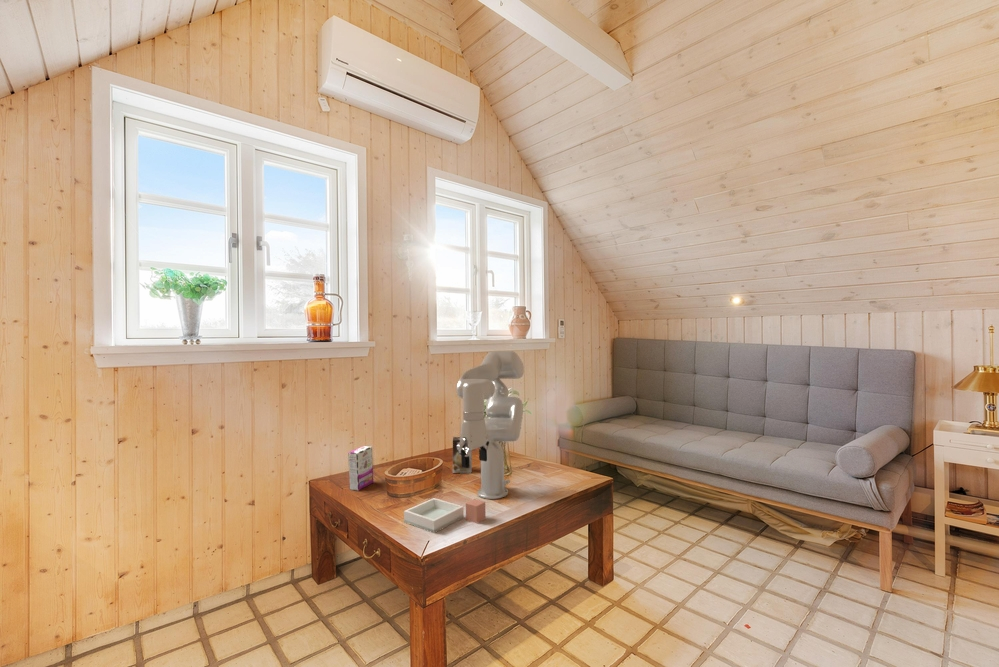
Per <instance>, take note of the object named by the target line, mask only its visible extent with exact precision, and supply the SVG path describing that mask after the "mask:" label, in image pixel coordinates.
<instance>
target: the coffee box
mask: <svg viewBox="0 0 999 667" xmlns="http://www.w3.org/2000/svg"><path fill="white" fill-rule="evenodd" d="M459 443H460V436H453V438H452V474H453V473H460V474H472V473H471V472H473V471H472V470H473V468H472V464H473V463H472V462H473V461H472V459H473V458H472V456H473V454H472V453H473V452H472V451H473V450H470V452H469V455H468V456H469V462H470V467H469V468H465V467H462V458H461V456H460V453H459V452H458V449H457V445H458V444H459ZM466 451H467V450H465V452H466Z"/></svg>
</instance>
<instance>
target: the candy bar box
mask: <svg viewBox="0 0 999 667" xmlns="http://www.w3.org/2000/svg"><path fill="white" fill-rule="evenodd" d="M373 459H374V458H373V446H369V445H363V446H361V447H358V448H357V449H354V450H351V451H349V452H348V476H349V490H350V491H361V490H362V489H364V488H366V487H368V486H370V485H371V484H373V483H374V465H373V464H374V462H373V461H374V460H373Z"/></svg>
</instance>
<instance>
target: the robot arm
mask: <svg viewBox="0 0 999 667" xmlns="http://www.w3.org/2000/svg"><path fill="white" fill-rule="evenodd" d="M524 368H525V366H524V363H523V361H522V359H521V357H520V356H519V354H518V353H516V352H515V351H513V350H493V351H489V352H488V353H487V354H486V355H485V356H484V358H483V360H482V362H481V363H480V365H477V366H475V367H472V368H470V369H468V370H466V371H465V372H463V373H462V375H461V376H460V378H459V379H458V382H457V384H456V387H455V388H456V395H457V396H458V397H459V398H460V399H462V408H463V409H462V416H463V417H462V421H461V424H460V432H459V433H460V435H459V437H460V443H459V444H458V445H457V449H458V452H459V453H460V456H461V458H462V467H465V468H469V467H470V462H469V456H468V455H469V452H470V450H472V451H473V450H476V449H479V450H478V456H479V457H478V459H479V461H480V482H481V483H480V485H481V487H480V488H479V489H478V490H477V496H478V497H479V498H481V499H488V500H497V499H502V498H504V497H506V496H508V494H509V489H508V488H506V486H507V485H508V484H510V482H511V480H510V479H509V478H506V479H505V462H504V460H505V459H504V457H505V456H504V448H503V446H502V445H501V444H500V443H499V442H516V441H518V440H519V438H520V435H521V429H522V421H523V414H524V403H523V401H522V399H520V398H519V397H516V396H509V393H510V392H509V391H510V390H509V388H508V386H506V384H505V383H504V382H503V381H502V380H503V379H506V380H507V379H508V380H510V379H511V380H512V379H513V380H514V379H515V380H517V379H521V378H522V377H523V375H524V372H525V369H524ZM485 400H487V401H486V406H485ZM485 413H486V414H485ZM485 415H486V416H487V417H485ZM465 450H467V451H466V452H465Z"/></svg>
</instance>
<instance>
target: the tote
mask: <svg viewBox="0 0 999 667" xmlns="http://www.w3.org/2000/svg"><path fill="white" fill-rule="evenodd" d="M464 513H465V512H464V506H463V505H459V504H457V503H453V502H449V501H446V500H443V499H439V498H435V497H433V498H430V499H429V500H426V501H424V502H421V503H419V504H417V505H414V506H413V507H410V508H408V509H406V510H403V522H404V523H405V524H409V525H410V524H411V526H413V525H414V527H416V526H417V528H419V529H421V528H422V530H424V529H425V530H424V531H427V530H428V532H430V531H431V532H430V533H432V534H434V533H437V532H439V531H441V530H442V528H443V529H444V527H445V528H447V527H448V526H450V525H452V524H454V523H456V522H458V521H460V520H462V519H463V517H465V514H464ZM440 529H441V530H440ZM436 531H437V532H436Z"/></svg>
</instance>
